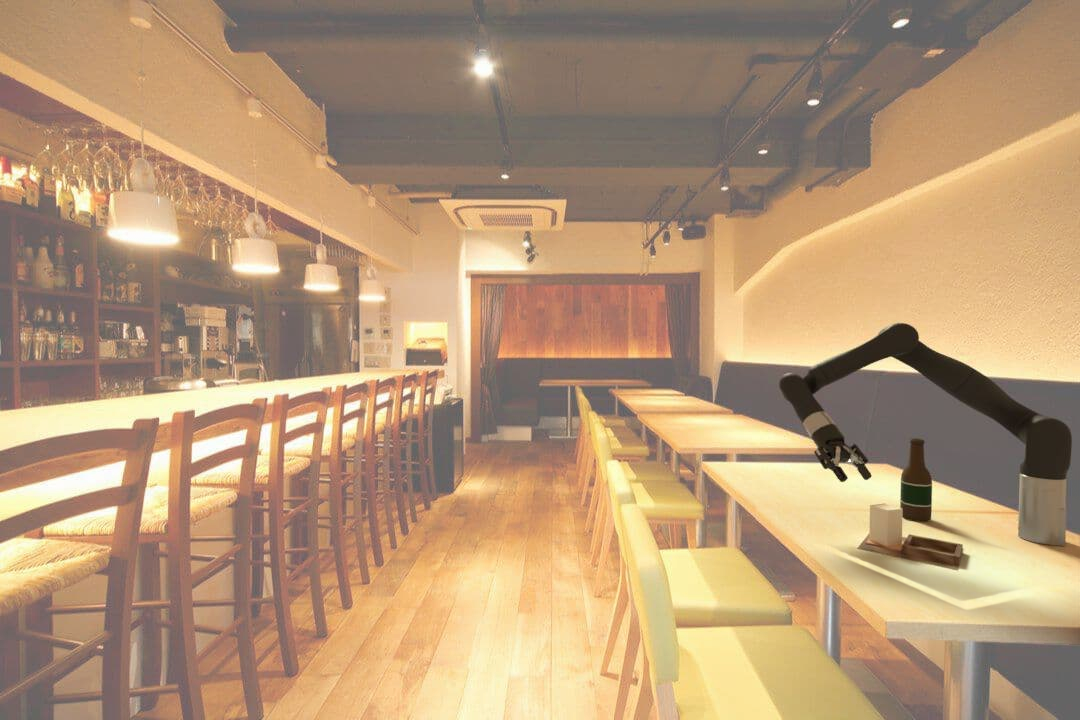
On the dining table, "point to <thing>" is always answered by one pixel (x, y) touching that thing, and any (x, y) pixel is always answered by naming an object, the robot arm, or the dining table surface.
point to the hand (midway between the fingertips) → (856, 479)
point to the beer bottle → (916, 485)
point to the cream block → (886, 524)
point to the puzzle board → (920, 550)
